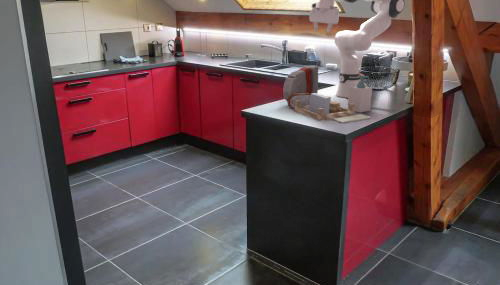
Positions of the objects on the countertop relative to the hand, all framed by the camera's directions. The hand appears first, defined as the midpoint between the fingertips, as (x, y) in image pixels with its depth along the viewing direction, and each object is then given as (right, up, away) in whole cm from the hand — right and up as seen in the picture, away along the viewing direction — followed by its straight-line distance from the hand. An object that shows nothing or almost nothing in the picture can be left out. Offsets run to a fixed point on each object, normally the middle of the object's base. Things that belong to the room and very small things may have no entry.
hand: (321, 31), depth 239 cm
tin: (-13, -44, -6) cm, 46 cm away
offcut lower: (+3, -47, -14) cm, 49 cm away
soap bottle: (+19, -45, -9) cm, 50 cm away
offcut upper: (+2, -44, -15) cm, 47 cm away
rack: (-1, -47, -16) cm, 50 cm away
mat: (+11, -51, -26) cm, 58 cm away
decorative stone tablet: (-11, -39, +8) cm, 41 cm away
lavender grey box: (-4, -48, -18) cm, 52 cm away
